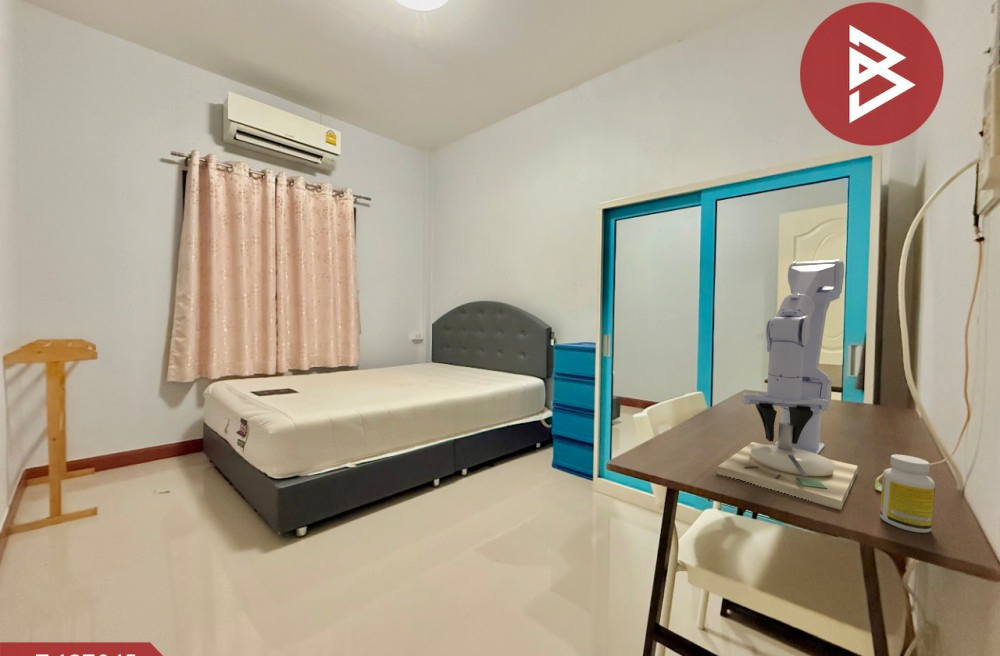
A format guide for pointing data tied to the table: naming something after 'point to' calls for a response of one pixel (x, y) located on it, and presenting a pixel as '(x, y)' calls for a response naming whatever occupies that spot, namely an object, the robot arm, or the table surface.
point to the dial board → (792, 479)
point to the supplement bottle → (908, 494)
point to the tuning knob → (791, 456)
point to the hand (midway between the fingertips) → (781, 441)
